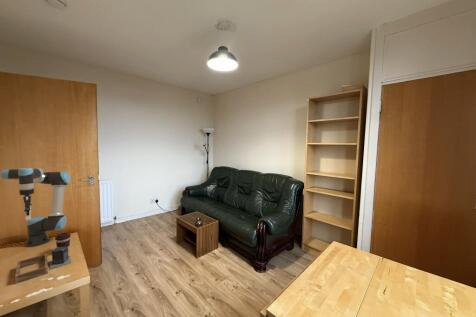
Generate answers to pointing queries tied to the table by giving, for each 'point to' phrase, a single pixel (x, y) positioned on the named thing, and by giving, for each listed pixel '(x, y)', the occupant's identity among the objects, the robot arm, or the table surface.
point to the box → (59, 255)
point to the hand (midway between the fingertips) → (28, 216)
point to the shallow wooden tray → (33, 273)
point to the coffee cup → (63, 240)
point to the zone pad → (60, 263)
